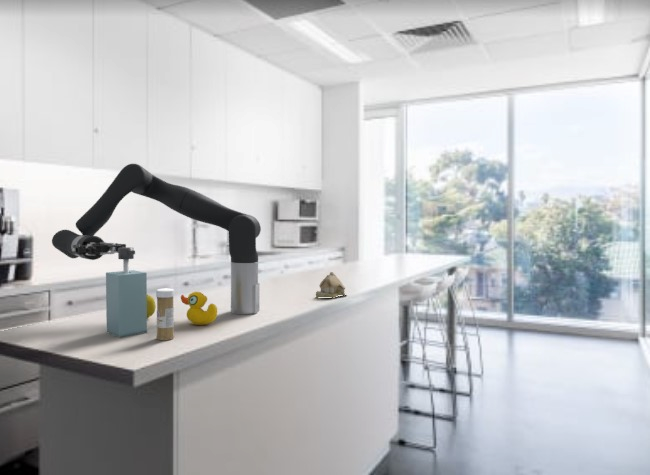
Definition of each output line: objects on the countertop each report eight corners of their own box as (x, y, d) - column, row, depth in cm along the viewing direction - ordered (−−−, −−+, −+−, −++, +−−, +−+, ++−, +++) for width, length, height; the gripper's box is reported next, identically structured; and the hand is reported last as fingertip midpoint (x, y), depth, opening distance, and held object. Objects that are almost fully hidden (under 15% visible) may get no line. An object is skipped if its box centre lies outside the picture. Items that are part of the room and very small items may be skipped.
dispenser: (106, 332, 140) (105, 272, 139) (134, 327, 146) (133, 270, 145) (119, 337, 135) (118, 275, 134) (146, 332, 140) (146, 272, 139)
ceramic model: (326, 293, 212) (326, 269, 211) (350, 295, 207) (350, 271, 206) (311, 298, 199) (311, 273, 198) (336, 300, 194) (336, 275, 193)
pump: (116, 299, 140) (115, 247, 139) (130, 297, 143) (129, 247, 142) (126, 302, 135) (126, 249, 134) (140, 300, 138) (140, 248, 137)
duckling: (177, 325, 149) (177, 292, 148) (184, 321, 154) (184, 289, 154) (213, 327, 147) (213, 294, 147) (219, 323, 153) (219, 291, 152)
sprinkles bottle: (153, 338, 134) (152, 289, 133) (168, 335, 137) (167, 287, 137) (162, 341, 131) (162, 291, 130) (177, 338, 134) (177, 289, 134)
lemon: (159, 318, 159) (159, 293, 159) (147, 321, 154) (147, 296, 153) (145, 316, 161) (144, 292, 160) (133, 320, 156) (133, 294, 155)
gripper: (64, 235, 152) (84, 238, 141) (110, 234, 162) (133, 237, 151) (64, 260, 152) (85, 264, 141) (110, 257, 163) (133, 261, 152)
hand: (109, 250), depth 146 cm, fingers open, 8 cm apart
